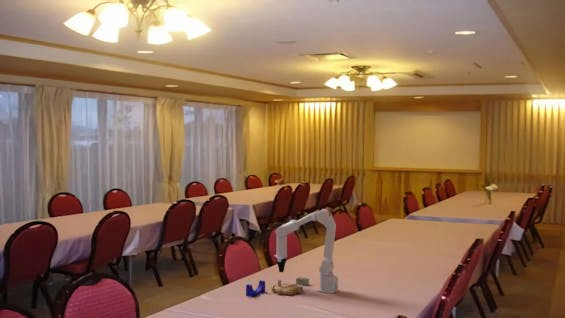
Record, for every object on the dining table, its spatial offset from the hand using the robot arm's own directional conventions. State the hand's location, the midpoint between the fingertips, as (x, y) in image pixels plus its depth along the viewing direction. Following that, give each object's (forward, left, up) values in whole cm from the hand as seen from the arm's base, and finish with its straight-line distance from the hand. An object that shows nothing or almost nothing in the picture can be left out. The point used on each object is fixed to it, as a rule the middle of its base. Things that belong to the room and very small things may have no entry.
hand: (281, 272), depth 309 cm
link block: (-7, -12, -9) cm, 16 cm away
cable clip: (+3, +19, -9) cm, 21 cm away
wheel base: (-7, +5, -9) cm, 12 cm away
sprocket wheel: (-7, +5, -9) cm, 12 cm away
